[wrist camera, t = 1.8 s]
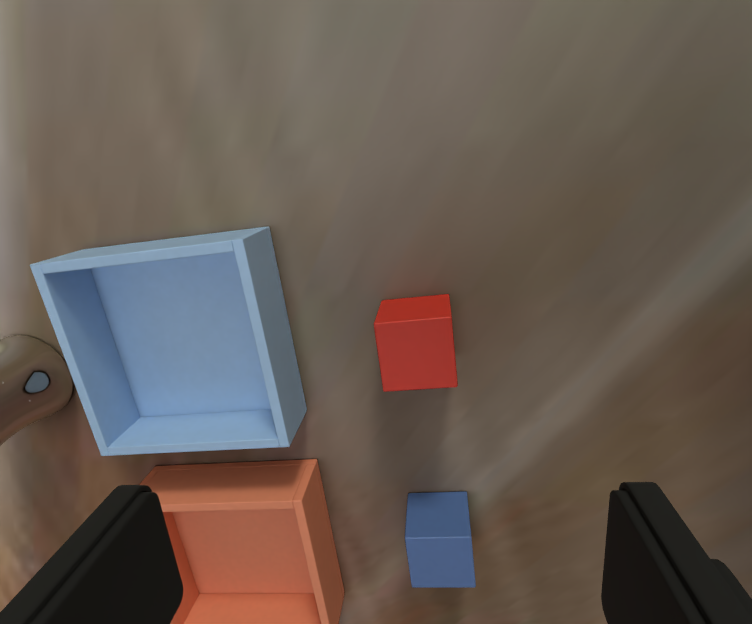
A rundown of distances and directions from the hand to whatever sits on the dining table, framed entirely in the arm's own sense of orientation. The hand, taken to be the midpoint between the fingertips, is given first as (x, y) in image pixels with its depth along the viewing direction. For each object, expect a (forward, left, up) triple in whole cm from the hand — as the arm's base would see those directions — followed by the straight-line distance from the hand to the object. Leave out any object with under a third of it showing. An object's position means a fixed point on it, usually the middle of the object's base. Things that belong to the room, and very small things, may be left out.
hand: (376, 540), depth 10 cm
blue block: (0, +17, -19) cm, 25 cm away
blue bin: (+14, +2, -19) cm, 24 cm away
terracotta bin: (+14, +18, -19) cm, 29 cm away
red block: (0, +3, -19) cm, 19 cm away
